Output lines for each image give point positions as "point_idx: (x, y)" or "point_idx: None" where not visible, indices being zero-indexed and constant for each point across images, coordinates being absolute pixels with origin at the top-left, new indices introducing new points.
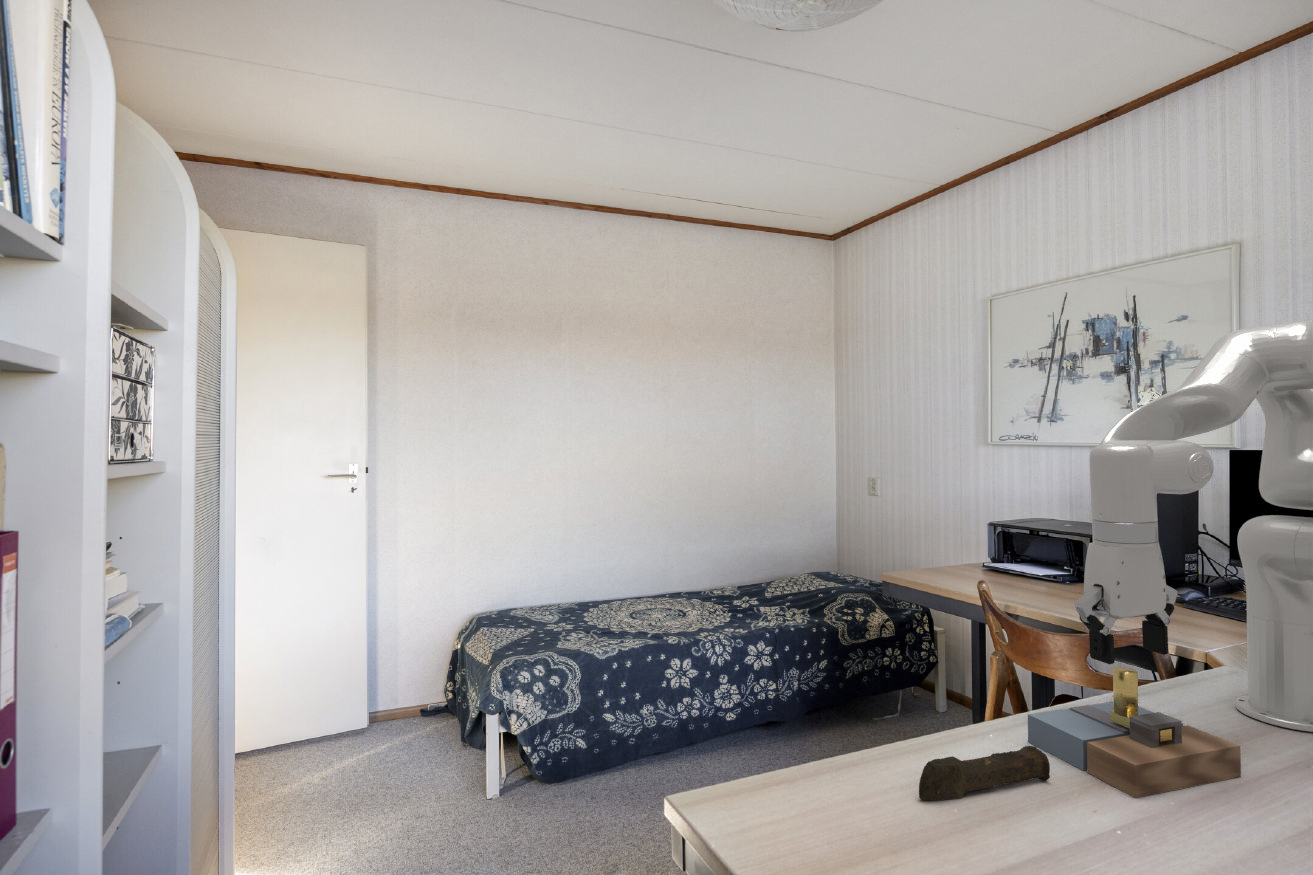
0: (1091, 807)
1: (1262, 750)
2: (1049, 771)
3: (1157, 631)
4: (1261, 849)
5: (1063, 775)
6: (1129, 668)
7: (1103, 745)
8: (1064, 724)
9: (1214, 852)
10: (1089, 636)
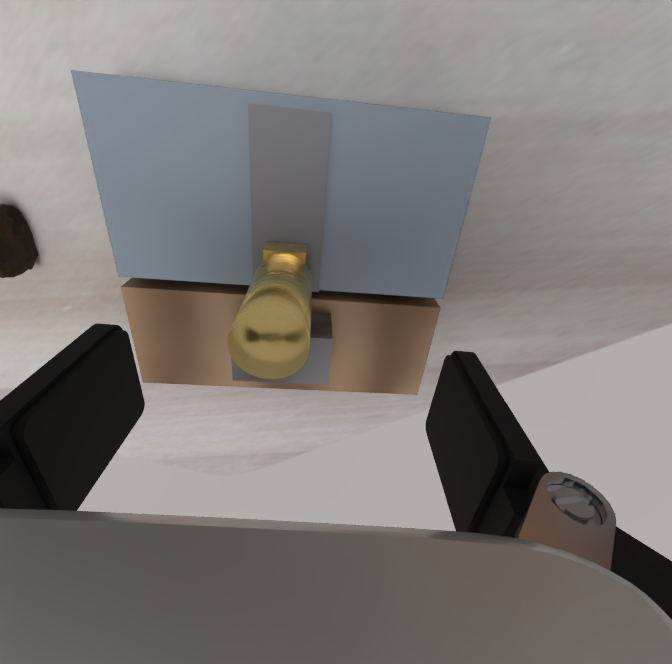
0: (66, 343)
1: (562, 319)
2: (22, 273)
3: (457, 493)
4: (216, 457)
5: (91, 252)
6: (304, 339)
7: (147, 310)
8: (141, 187)
9: (154, 447)
10: (17, 388)
